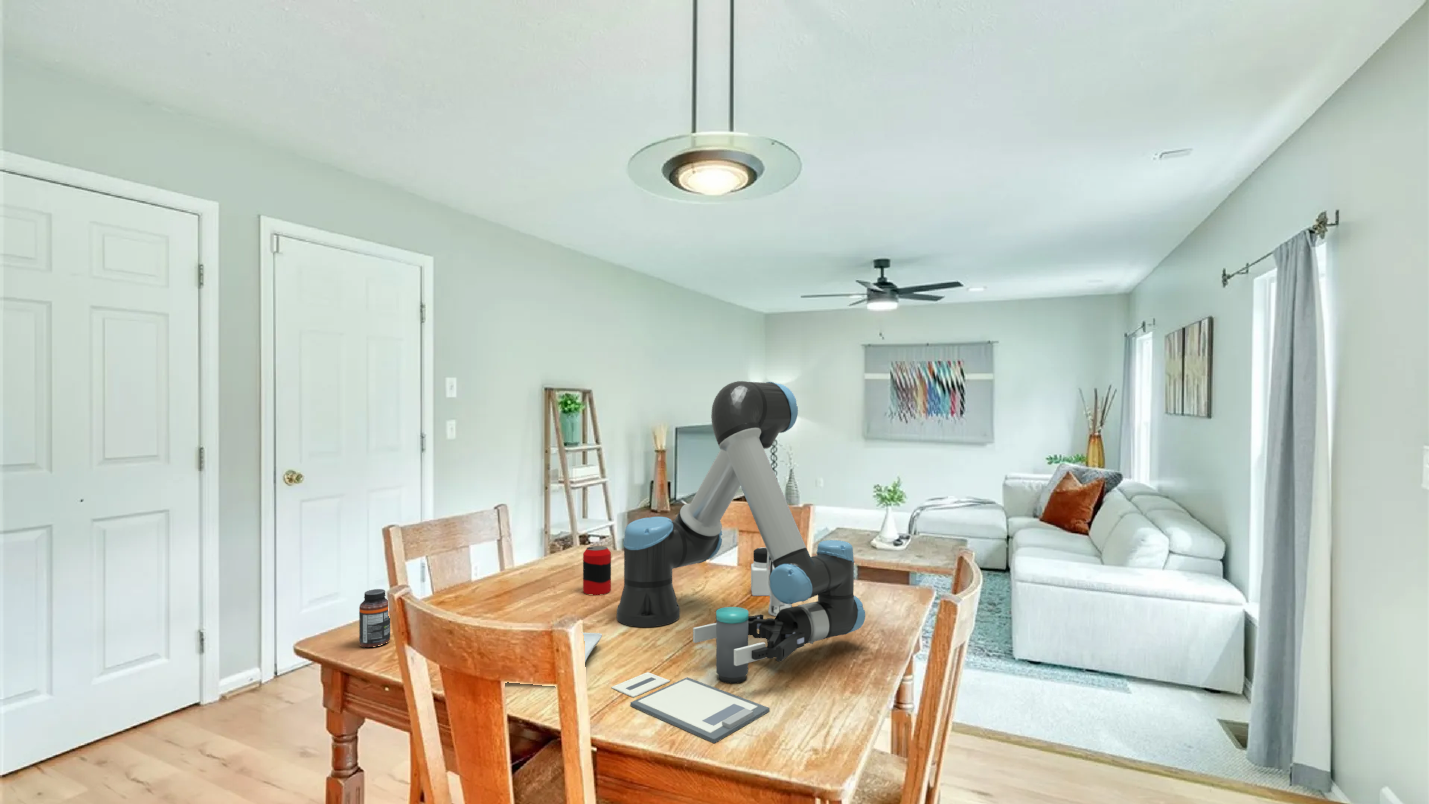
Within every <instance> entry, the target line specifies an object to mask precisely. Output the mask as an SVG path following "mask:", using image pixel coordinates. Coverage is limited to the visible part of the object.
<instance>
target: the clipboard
mask: <svg viewBox="0 0 1429 804" xmlns="http://www.w3.org/2000/svg"><path fill="white" fill-rule="evenodd" d="M629 703H630V707H632V708H635V709H637V710H638V711H641V712H643V713H645V714H648V715H650V716H651V717H654V718H657V719H659V720H661V721H663V722H665V723H668V724H669V725H672V726H674V727H677V728H679V729H681V730H683V731H686V732H687V733H690V734H692V735H694V736H697V737H699V738H701V739H704V740H705V741H708V742H710V743H713V744H715V743H718V742H719V741H721V740H723V739H724V738H726V737H728V736H729V735H731V734H733V733H735V732H737V731H738V730H740V729H742V728H744V727H745V726H747V725H749V724H750V723H752V722H754V721H755V720H758V719H759V718H761V717H762V716H764V715H766V714H768V713H770V707H768V706H766V705H763V704H761V703H758V702H754V701H752V700H751V699H747V698H744V697H741V696H739V695H736V694H734V693H730V692H728V691H725V690H722V689H720V688H718V687H714V686H712V685H709V684H706V683H703V682H701V681H698V680H696V679H693V678H690V677H688V676H686V677H684V678H683V679H680V680H678V681H676V682H673V683H670V684H669V685H666V686H664V687H662V688H659V689H658V690H655V691H653V692H651V693H649V694H646V695H643V696H642V697H640V698H637V699H635V700H632V701H630V702H629Z"/></svg>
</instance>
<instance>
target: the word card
mask: <svg viewBox="0 0 1429 804" xmlns="http://www.w3.org/2000/svg"><path fill="white" fill-rule="evenodd" d="M670 682H671V680H670V679H667V678H665V677H662V676H659V675H658V674H657V675H656V674H654V673H651V672H649V671H647V672H645V673H642V674H640V675H637V676H635V677H632V678H630V679H628V680H624V681H623V682H619V683H617V684H615V685H612V686H611V689H613V690H615V691H617V692H620V693H622V694H624V695H627V696H629V697H631V698H636V697H638V696H641V695H642V694H643V695H644V694H646V693H648V692H649V691H652V690H655V689H656V688H659V687H662V686H663V685H666V684H668V683H670Z"/></svg>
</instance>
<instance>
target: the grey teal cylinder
mask: <svg viewBox="0 0 1429 804" xmlns="http://www.w3.org/2000/svg"><path fill="white" fill-rule="evenodd" d="M748 616H749V610H748V609H746V608H744V607H740V606H724V607H721V608H718V609H716V611H715V619H716V620H715V623H716V638H715V639H716V643H715V645H716V646H715V647H716V648H715V650H716V651H715V652H716V653H715V656H716V657H715V659H716V660H715V661H716V667H715V669H716V670H715V672H716V674H717V676H718V680H719V681H720V682H722V683H725V684H731V685H732V684H740V683H743V682H745V681H746V679H747V675H748V673H749V663H746V664H742V665H738V666H735V665H734V649H737V648H741V647H745V646H749V635H748Z"/></svg>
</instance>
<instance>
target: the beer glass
mask: <svg viewBox="0 0 1429 804" xmlns="http://www.w3.org/2000/svg"><path fill="white" fill-rule="evenodd" d="M766 569H767V581H768V587H769V593H770V596H769V605H768V609H767V610H768V611H767V612H768V614H769V616H773V617H776V616H777V614H778V612H779V611H780V610H782V609H785V608H790V607H793V605H792V604H793V603H792V604H785V603H782V602H780V601H779V600H778V599H777V598H776V597H775V596H774V595H773V593H772V591H771V588H770V575H771V573H772V571H773V570H774V566H773V563H772V561H771V558H770V556H769V553H768V552H767V568H766Z"/></svg>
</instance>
